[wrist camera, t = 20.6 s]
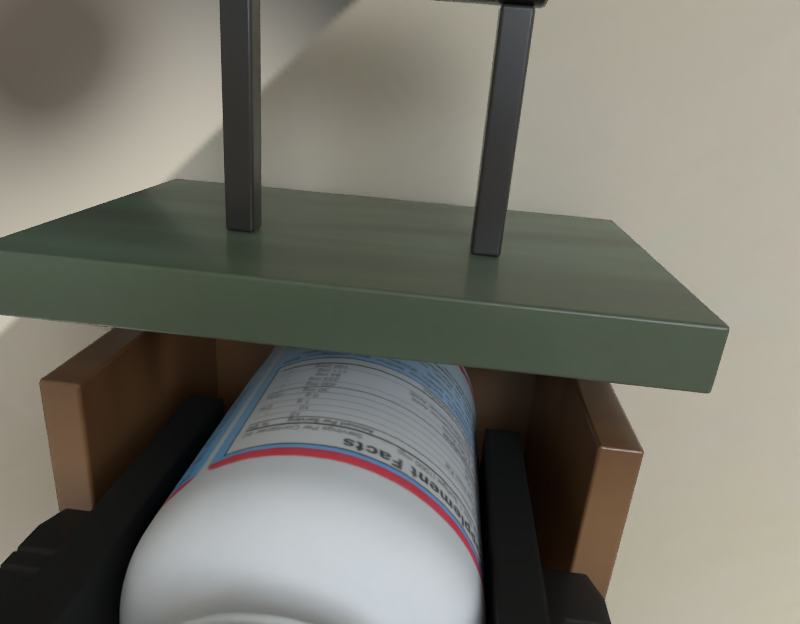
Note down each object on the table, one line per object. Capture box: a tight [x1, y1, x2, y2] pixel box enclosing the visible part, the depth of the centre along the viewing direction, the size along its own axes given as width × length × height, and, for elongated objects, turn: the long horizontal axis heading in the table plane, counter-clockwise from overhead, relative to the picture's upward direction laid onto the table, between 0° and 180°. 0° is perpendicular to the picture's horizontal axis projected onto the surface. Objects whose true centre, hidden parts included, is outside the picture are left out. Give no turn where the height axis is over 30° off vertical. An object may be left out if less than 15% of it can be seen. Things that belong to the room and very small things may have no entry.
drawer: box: [0, 0, 729, 600], centre depth 14 cm, size 18×12×8 cm
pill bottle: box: [120, 345, 486, 624], centre depth 12 cm, size 6×6×11 cm
